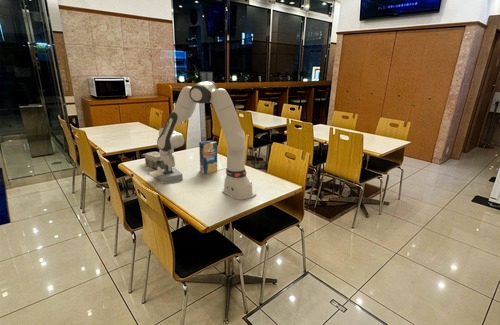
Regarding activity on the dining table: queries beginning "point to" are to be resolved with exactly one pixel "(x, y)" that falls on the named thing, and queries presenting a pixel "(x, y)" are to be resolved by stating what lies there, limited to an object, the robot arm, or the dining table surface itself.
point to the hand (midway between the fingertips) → (168, 169)
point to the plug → (167, 169)
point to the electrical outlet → (154, 160)
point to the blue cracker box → (208, 156)
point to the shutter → (156, 172)
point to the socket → (170, 176)
